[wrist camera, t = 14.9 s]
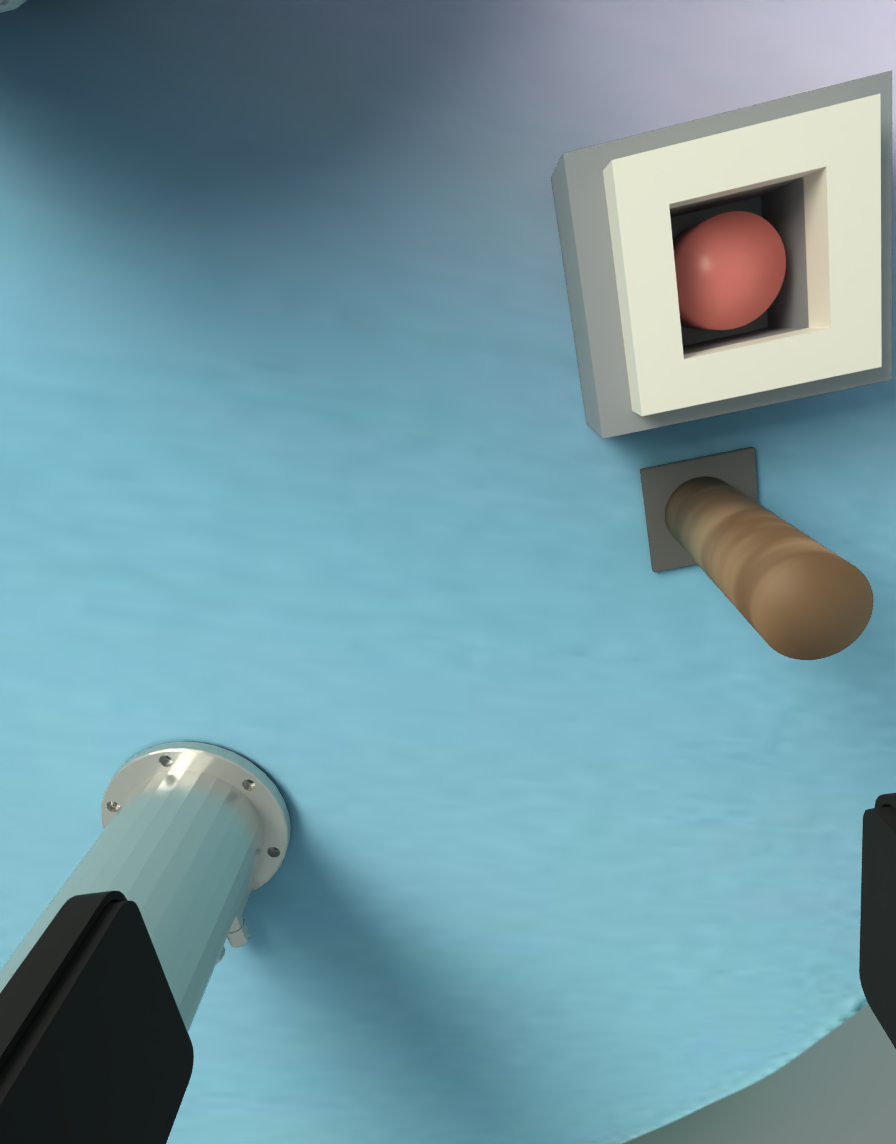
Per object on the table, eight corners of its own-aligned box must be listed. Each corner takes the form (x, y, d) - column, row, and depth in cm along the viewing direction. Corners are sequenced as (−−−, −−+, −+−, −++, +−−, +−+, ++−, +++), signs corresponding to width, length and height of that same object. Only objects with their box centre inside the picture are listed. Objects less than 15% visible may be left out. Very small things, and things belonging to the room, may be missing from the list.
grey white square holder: (836, 372, 36) (918, 383, 29) (586, 424, 37) (610, 445, 30) (830, 108, 32) (923, 51, 25) (550, 177, 33) (569, 140, 26)
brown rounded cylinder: (735, 469, 37) (871, 547, 24) (741, 539, 38) (874, 649, 25) (660, 484, 37) (753, 569, 24) (668, 552, 39) (761, 668, 26)
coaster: (758, 550, 39) (761, 552, 39) (652, 569, 40) (653, 572, 39) (751, 446, 37) (754, 447, 37) (639, 469, 38) (641, 470, 37)
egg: (758, 317, 34) (788, 316, 31) (660, 339, 34) (679, 340, 31) (752, 211, 32) (783, 198, 29) (649, 235, 33) (668, 225, 30)
